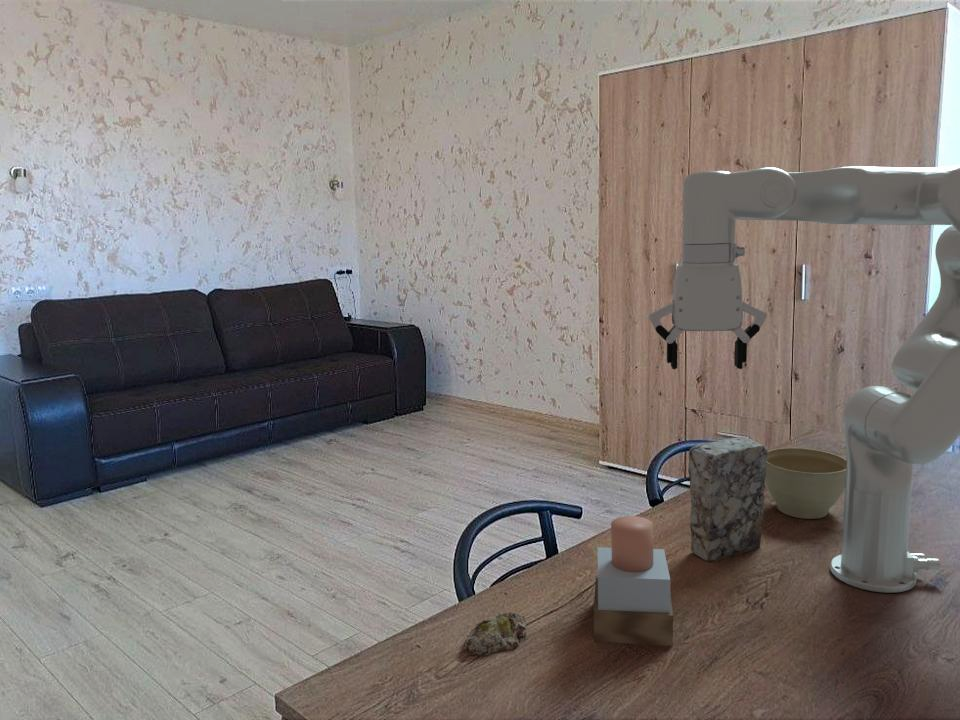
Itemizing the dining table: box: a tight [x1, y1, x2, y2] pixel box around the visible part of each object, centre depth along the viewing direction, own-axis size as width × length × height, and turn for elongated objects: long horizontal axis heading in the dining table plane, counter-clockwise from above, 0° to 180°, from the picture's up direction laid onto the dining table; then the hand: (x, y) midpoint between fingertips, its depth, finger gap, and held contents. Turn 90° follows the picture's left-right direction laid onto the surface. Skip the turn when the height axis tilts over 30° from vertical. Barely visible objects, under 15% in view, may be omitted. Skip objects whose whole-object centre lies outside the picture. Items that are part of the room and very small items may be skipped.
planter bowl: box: [765, 447, 846, 520], centre depth 152 cm, size 16×16×11 cm
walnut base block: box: [593, 575, 674, 647], centre depth 112 cm, size 11×11×5 cm
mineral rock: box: [464, 611, 527, 657], centre depth 110 cm, size 11×4×8 cm
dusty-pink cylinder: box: [610, 515, 654, 572], centre depth 110 cm, size 6×6×6 cm
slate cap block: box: [597, 546, 671, 613], centre depth 112 cm, size 10×10×5 cm
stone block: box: [688, 436, 769, 563], centre depth 134 cm, size 13×7×20 cm, turn 120°
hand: (705, 367), depth 117 cm, fingers open, 9 cm apart
